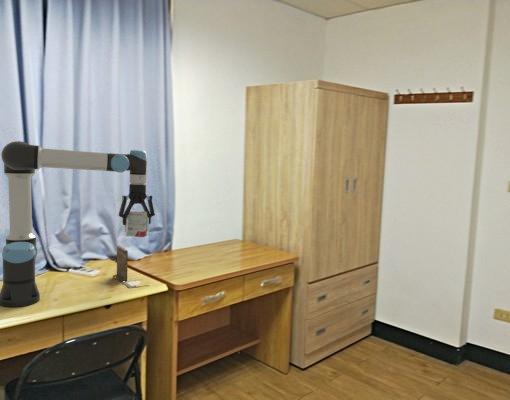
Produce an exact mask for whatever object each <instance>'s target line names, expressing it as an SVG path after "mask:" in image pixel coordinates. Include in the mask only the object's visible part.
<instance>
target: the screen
mask: <svg viewBox="0 0 510 400" xmlns="http://www.w3.org/2000/svg"><path fill="white" fill-rule="evenodd" d="M128 251H129V250H127V249H126V248H124V247H122V246H121V245H118V246H116V274H113V275H112V276H113V277H114V278H115V277H116V278H117V279H118V280H117V279H116V278H115V279H116V280H117V281H118V282H120V283H122V282H123V281H128V261H129V260H128V258H129V257H128V255H129V254H128V253H129V252H128Z"/></svg>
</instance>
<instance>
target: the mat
mask: <svg viewBox="0 0 510 400" xmlns="http://www.w3.org/2000/svg"><path fill="white" fill-rule="evenodd" d="M138 280H139V279H134V280H133V279H132V280H127V281H125V282H123V283H124V284H123V283H122V284H123V285H124V286H126V287H127V286H128V287H129V288H128V287H127V288H128V289H131V288H130V287H134V288H137V287H136V285H140V284H139V283H141V282H140V281H138Z"/></svg>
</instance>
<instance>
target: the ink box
mask: <svg viewBox="0 0 510 400" xmlns="http://www.w3.org/2000/svg"><path fill="white" fill-rule="evenodd" d="M127 218H128V232H127V233H126V232H125V236H126V237H135V238H137V237H138V238H145V237H147V235H148V231H147V212H146V211H144V210H132V209H131V210H130V212H129V214H128V216H127Z"/></svg>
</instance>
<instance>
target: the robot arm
mask: <svg viewBox="0 0 510 400" xmlns="http://www.w3.org/2000/svg"><path fill="white" fill-rule="evenodd" d="M0 156H1V160H2V162H3V168H4V169H3V170H4V171H3V172H4V175H5V176H6V177H8V209H9V210H8V213H9V234H8V235H7V236H6V237H5V245H4V246H3V248H2V252H1V256H2V286H1V289H0V306H2V307H5V308H17V307H19V308H20V307H25V306H30V305H34V304H36V303H38V302H39V301H41V298H40V297H41V293H40V290H39V289H38V288H39V287H38V285H37V283H36V258H37V256H38V247H37V236H36V235H35V234H34V232H33V210H32V208H33V207H32V203H33V202H32V177H33V176H35V174H36V170H38V171H39V170H40V169H41V168H52V169H67V170H68V169H69V170H86V171H102V172H114V173H115V172H116V173H124V172H127V171H129V180H128V181H129V185H128V186H129V188H128V189H129V190H128V192H129V193H128V195H122V196H121V197H122V199H121V205H120V207H119V211H118V217H120V218H122V225H123V226H124V227H123V228H124V229H123V230H124V233H125V234H126V233H127V232H128V218H127V216H128V214H129V212H130V210H131V211H132V208H133V207H134V205H137V204H139V205H141V206H142V209H143V211H146V212H147V232H149V231H150V230H149V229H150V227H149V226H150V225H151V223H152V222H151V221H152V220H151V219H152V217H154V216H156V214H155V208H154V203H153V195H150V194H149V195H147V194H146V193H147V185H146V183H147V164H148V160H147V152H146V150H138V149H137V150H135V149H134V150H133V149H132V150H131V149H130V152H129V153H127V154H125V153H112V152H110V153H105V152H92V151H82V150H81V151H80V150H67V149H66V150H65V149H53V148H42V146H41V145H37V144H34V145H33V144H29V143H27V142H25V141H21V140H20V141H19V140H18V141H12V142H11V141H10V142H9V143H7V144H6V145H5V146H4V147H3V148H2V150H1V155H0ZM128 199H129V202H128V205H127V201H128ZM145 200H147V203H146V202H145ZM126 205H127V206H126ZM147 205H148V207H149V208H148V207H147Z"/></svg>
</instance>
